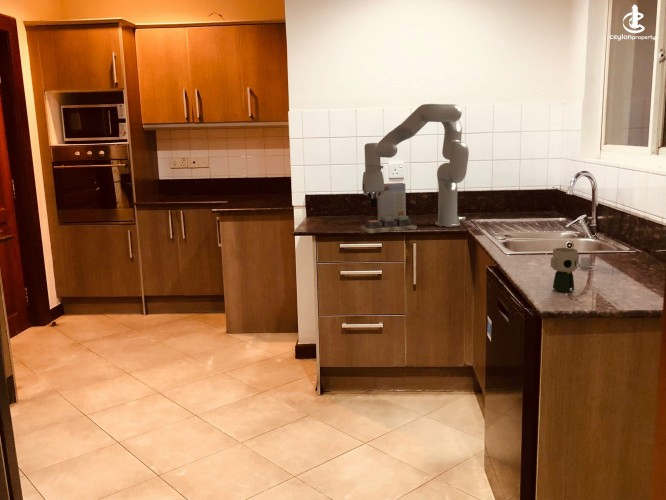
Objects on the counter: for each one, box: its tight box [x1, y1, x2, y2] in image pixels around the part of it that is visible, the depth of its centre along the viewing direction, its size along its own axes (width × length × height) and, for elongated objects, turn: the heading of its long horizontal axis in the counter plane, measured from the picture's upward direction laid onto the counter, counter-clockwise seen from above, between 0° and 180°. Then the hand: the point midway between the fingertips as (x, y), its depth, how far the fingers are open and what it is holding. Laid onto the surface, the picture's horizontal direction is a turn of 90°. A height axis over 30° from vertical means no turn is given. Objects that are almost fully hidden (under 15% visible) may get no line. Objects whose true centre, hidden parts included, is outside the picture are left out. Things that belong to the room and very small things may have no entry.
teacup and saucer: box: [577, 256, 598, 271], centre depth 223 cm, size 9×8×4 cm
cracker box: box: [377, 182, 407, 221], centre depth 330 cm, size 14×6×21 cm, turn 105°
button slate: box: [382, 217, 394, 221], centre depth 312 cm, size 4×4×3 cm
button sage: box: [397, 215, 410, 220], centre depth 314 cm, size 4×4×3 cm
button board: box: [359, 218, 418, 234], centre depth 312 cm, size 26×12×4 cm, turn 110°
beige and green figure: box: [550, 247, 580, 293], centre depth 193 cm, size 11×7×13 cm, turn 114°
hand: (374, 206), depth 308 cm, fingers closed
